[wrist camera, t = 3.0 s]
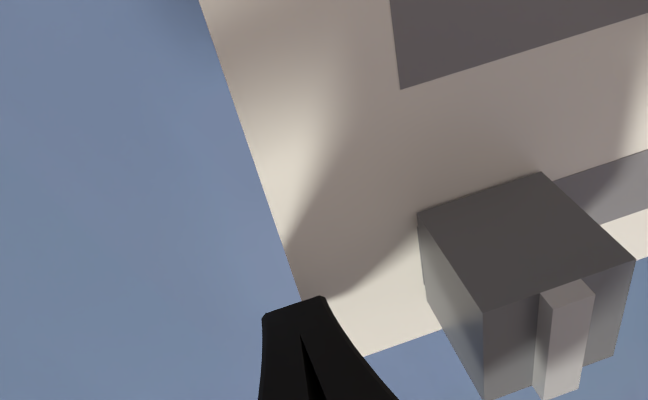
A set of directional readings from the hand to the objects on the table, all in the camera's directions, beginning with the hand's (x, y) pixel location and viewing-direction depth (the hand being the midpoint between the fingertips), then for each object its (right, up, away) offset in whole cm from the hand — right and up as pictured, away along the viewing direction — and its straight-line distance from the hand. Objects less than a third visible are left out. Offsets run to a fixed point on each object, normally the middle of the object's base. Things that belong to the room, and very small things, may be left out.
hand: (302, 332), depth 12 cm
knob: (+4, +2, +1) cm, 5 cm away
